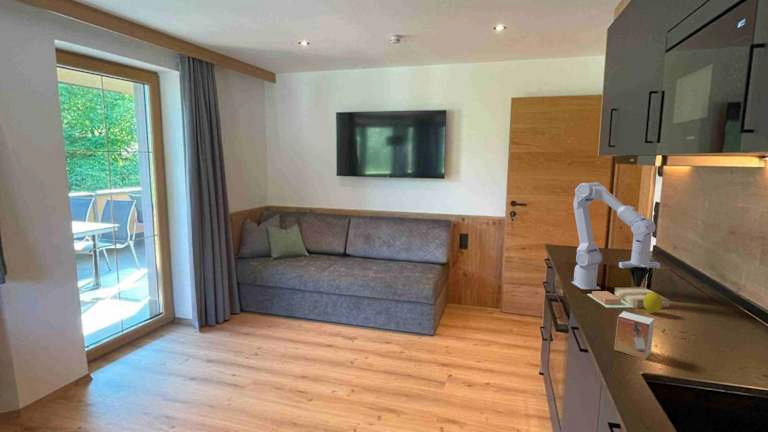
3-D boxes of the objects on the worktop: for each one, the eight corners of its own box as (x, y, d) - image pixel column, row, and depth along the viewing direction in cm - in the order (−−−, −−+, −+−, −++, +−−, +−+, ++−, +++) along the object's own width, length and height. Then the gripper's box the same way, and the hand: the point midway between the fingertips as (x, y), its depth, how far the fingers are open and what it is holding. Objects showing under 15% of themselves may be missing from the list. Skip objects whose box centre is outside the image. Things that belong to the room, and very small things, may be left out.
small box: (613, 350, 117) (617, 315, 115) (619, 344, 121) (623, 310, 119) (645, 360, 111) (649, 324, 110) (651, 353, 115) (655, 318, 114)
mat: (587, 294, 163) (587, 293, 163) (611, 294, 163) (611, 293, 163) (607, 308, 149) (607, 307, 149) (634, 307, 149) (634, 306, 149)
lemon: (657, 317, 141) (660, 295, 140) (639, 312, 145) (642, 291, 144) (663, 313, 144) (665, 292, 143) (645, 309, 148) (647, 288, 147)
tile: (607, 291, 160) (606, 296, 161) (592, 291, 160) (591, 296, 161) (621, 299, 152) (620, 304, 152) (605, 299, 151) (604, 304, 152)
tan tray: (614, 294, 163) (615, 287, 163) (643, 294, 164) (644, 287, 163) (636, 307, 150) (637, 300, 149) (668, 307, 150) (669, 300, 149)
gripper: (628, 254, 149) (624, 289, 152) (667, 254, 150) (662, 289, 152) (617, 249, 156) (613, 283, 158) (654, 249, 157) (650, 283, 159)
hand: (636, 286), depth 156 cm, fingers closed
